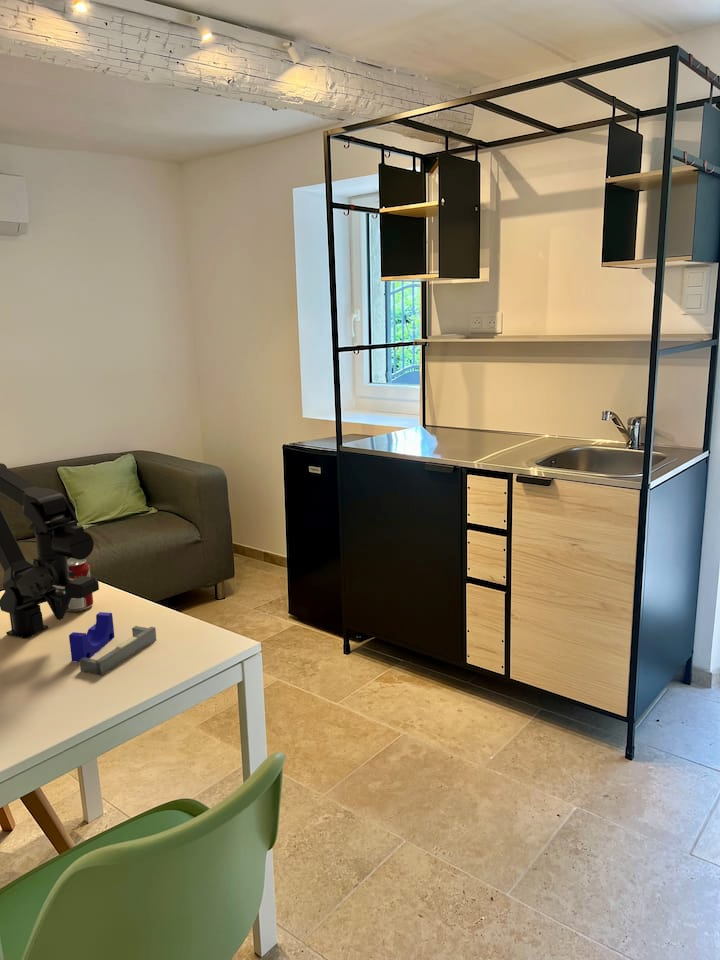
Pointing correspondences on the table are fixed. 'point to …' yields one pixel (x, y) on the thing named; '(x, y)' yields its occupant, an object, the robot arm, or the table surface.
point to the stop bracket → (120, 652)
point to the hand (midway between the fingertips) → (60, 619)
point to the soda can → (79, 570)
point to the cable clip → (92, 637)
